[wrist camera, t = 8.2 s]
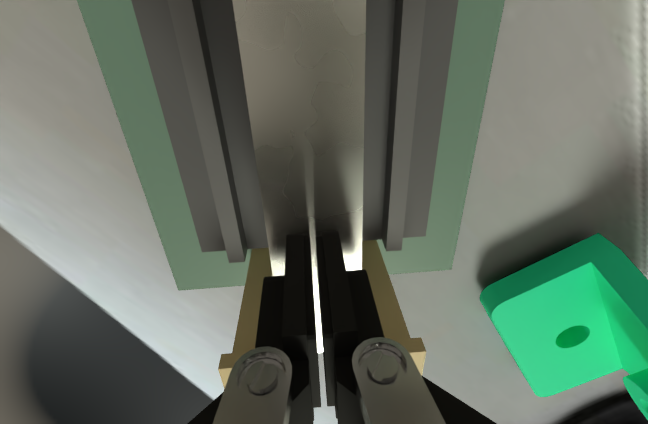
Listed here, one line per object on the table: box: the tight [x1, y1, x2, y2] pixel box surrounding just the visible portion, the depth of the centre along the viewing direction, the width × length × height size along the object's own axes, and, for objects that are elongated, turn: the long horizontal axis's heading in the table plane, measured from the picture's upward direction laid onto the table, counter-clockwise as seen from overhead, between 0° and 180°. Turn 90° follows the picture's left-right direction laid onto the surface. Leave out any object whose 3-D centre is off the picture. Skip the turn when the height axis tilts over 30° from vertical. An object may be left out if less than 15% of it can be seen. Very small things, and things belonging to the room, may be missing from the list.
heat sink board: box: [77, 0, 505, 389], centre depth 12 cm, size 22×16×8 cm
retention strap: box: [232, 0, 366, 353], centre depth 9 cm, size 18×3×1 cm, turn 2°
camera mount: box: [480, 233, 648, 420], centre depth 20 cm, size 12×8×10 cm, turn 33°
